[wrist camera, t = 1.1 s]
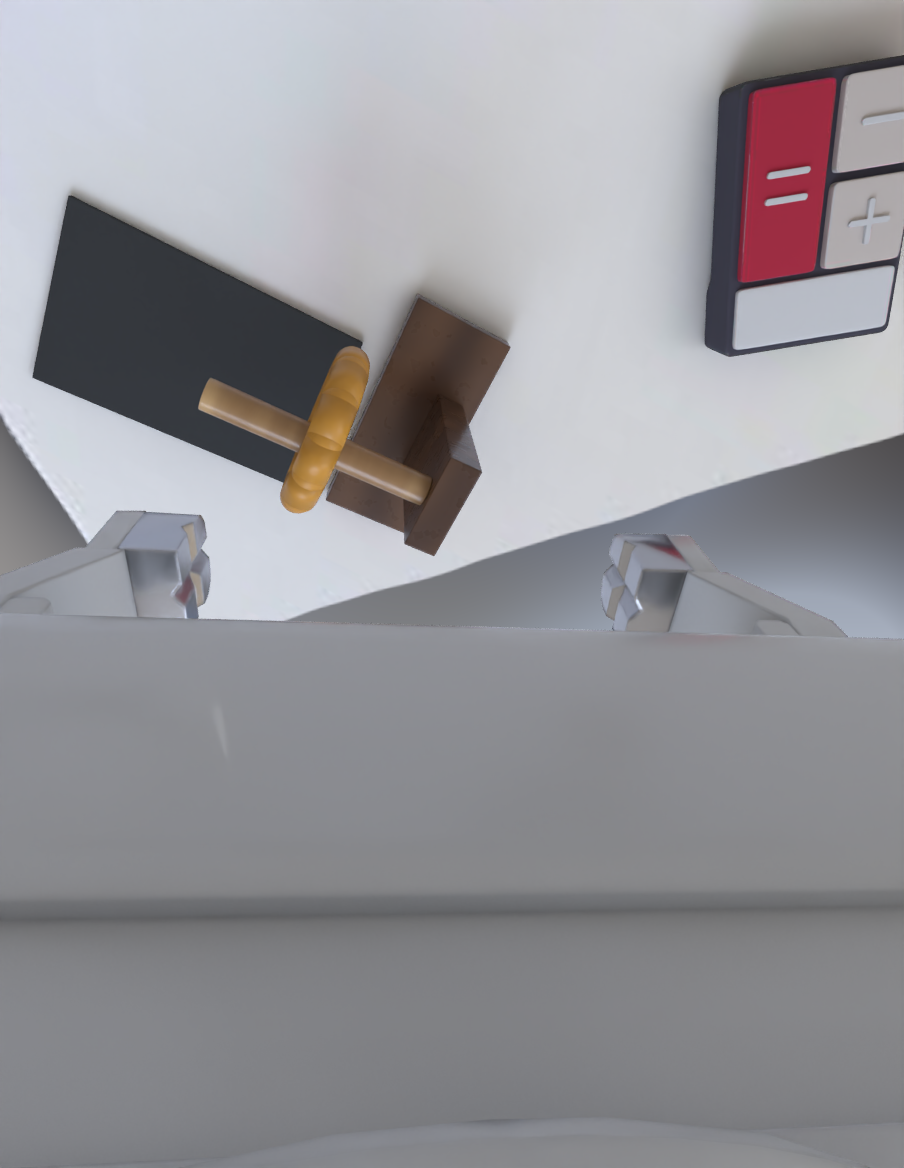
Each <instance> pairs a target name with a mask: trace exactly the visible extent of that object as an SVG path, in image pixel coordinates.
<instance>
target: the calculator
mask: <svg viewBox="0 0 904 1168" xmlns="http://www.w3.org/2000/svg"><path fill="white" fill-rule="evenodd" d="M903 236H904V55H902V56H896V57H890V58H884V59H878V60H872V61H866V62H860V63H854V64H848V65H842V66H836V67H830V68H824V69H818V70H812V71H806V72H800V73H794V74H788V75H783V76H777V77H771V78H765V79H759V80H753V81H748V82H745V83H742V84H739V85H736V86H734V87H731V88H729V89H726V90H725V91H723V92H722V94H721V96H720V99H719V117H718V139H717V161H716V183H715V204H714V226H713V248H712V270H711V281H710V284H709V288H708V291H707V302H706V324H705V345H706V346H707V347H708V348H710V349H712V350H714V351H717V352H719V353H721V354H723V355H726V356H729V357H732V356H738V355H745V354H751V353H757V352H763V351H769V350H775V349H782V348H788V347H794V346H800V345H806V344H812V343H819V342H825V341H831V340H837V339H843V338H849V337H856V336H862V335H868V334H874V333H880V332H882V331H884V330H885V329H886V328H887V326H888V322H889V317H890V311H891V305H892V300H893V294H894V288H895V282H896V276H897V270H898V265H899V259H900V253H901V247H902V241H903Z"/></svg>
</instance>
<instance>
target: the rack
mask: <svg viewBox="0 0 904 1168" xmlns="http://www.w3.org/2000/svg"><path fill="white" fill-rule="evenodd" d="M509 349H510V346H509V344H508V343H507V342H506V341H504V340H502V339H500V338H499V337H497V336H495V335H493V334H491V333H489V332H487V331H486V330H484V329H482V328H480V327H478V326H476V325H475V324H473V323H471V322H469V321H467V320H465V319H463V318H462V317H460V316H458V315H456V314H454V313H452V312H451V311H449V310H447V309H445V308H443V307H441V306H439V305H438V304H436V303H434V302H432V301H430V300H428V299H427V298H425V297H423V296H421V295H419V294H418V295H417V296H416V299H415V301H414V303H413V305H412V307H411V310H410V312H409V314H408V316H407V318H406V321H405V323H404V325H403V327H402V329H401V332H400V334H399V336H398V338H397V340H396V343H395V345H394V347H393V349H392V351H391V354H390V356H389V358H388V360H387V362H386V365H385V367H384V369H383V371H382V373H381V376H380V378H379V380H378V382H377V384H376V387H375V389H374V391H373V393H372V395H371V398H370V400H369V402H368V404H367V406H366V409H365V411H364V413H363V415H362V417H361V420H360V422H359V424H358V426H357V428H356V430H355V433H354V435H353V437H352V439H351V441H350V440H348V439H346V442H345V444H344V447H343V449H342V451H341V453H340V456H339V458H338V460H337V462H336V465H335V467H334V469H337V472H336V474H335V477H334V479H333V481H332V483H331V485H330V488H329V490H328V492H327V497H326V500H327V501H329V502H331V503H334V504H336V505H338V506H341V507H343V508H345V509H348V510H350V511H353V512H355V513H357V514H360V515H362V516H365V517H367V518H369V519H372V520H374V521H377V522H379V523H381V524H384V525H386V526H389V527H391V528H393V529H396V530H398V531H400V532H403V533H404V544H406V545H408V546H411V547H413V548H415V549H418V550H420V551H423V552H425V553H428V554H430V555H432V556H434V555H435V554H436V552H437V550H438V549H439V547H440V545H441V543H442V542H443V540H444V538H445V536H446V535H447V533H448V531H449V529H450V528H451V526H452V524H453V522H454V521H455V519H456V517H457V515H458V514H459V512H460V510H461V508H462V507H463V505H464V503H465V501H466V500H467V498H468V496H469V494H470V493H471V491H472V489H473V487H474V486H475V484H476V482H477V480H478V479H479V477H480V475H481V473H482V470H481V467H480V463H479V460H478V456H477V453H476V449H475V446H474V442H473V439H472V435H471V432H470V429H469V424H470V422H471V420H472V418H473V416H474V414H475V412H476V411H477V409H478V407H479V405H480V403H481V401H482V399H483V398H484V396H485V394H486V392H487V390H488V388H489V386H490V385H491V383H492V381H493V379H494V377H495V375H496V373H497V372H498V370H499V368H500V366H501V364H502V362H503V361H504V359H505V357H506V355H507V353H508V351H509ZM198 409H199V410H201V411H203V412H206V413H208V414H210V415H212V416H215V417H217V418H219V419H222V420H224V421H226V422H229V423H231V424H233V425H235V426H238V427H240V428H242V429H245V430H247V431H249V432H252V433H254V434H256V435H258V436H261V437H263V438H265V439H268V440H270V441H272V442H275V443H277V444H279V445H281V446H284V447H286V448H288V449H291V450H293V451H295V452H297V453H298V452H299V450H300V448H301V445H302V443H303V440H304V438H305V436H306V433H307V431H308V428H309V426H310V423H311V422H308V421H306V420H304V419H302V418H300V417H297V416H295V415H293V414H291V413H289V412H286V411H284V410H282V409H280V408H278V407H275V406H273V405H271V404H269V403H266V402H264V401H262V400H260V399H258V398H255V397H253V396H251V395H249V394H247V393H244V392H242V391H240V390H238V389H236V388H233V387H231V386H229V385H227V384H224V383H222V382H220V381H218V380H216V379H213V378H210V379H209V380H208V382H207V384H206V386H205V388H204V390H203V393H202V395H201V398H200V402H199V406H198Z"/></svg>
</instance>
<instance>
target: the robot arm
mask: <svg viewBox="0 0 904 1168" xmlns="http://www.w3.org/2000/svg"><path fill="white" fill-rule="evenodd" d="M206 538H207V536H206V529H205V523H204V520H203V518H202V516H201V515H189V514H173V513H156V512H146V511H116V512H115V513H114V514H113V515H112V517H111V518H110V519H109V520H108V521H107V523H106V524H105V525H104V526H103V527H102V528H101V530H100V531H99V532H98V533H97V534H96V535H95V537H94V538H93V539H92V540H91V541H90V542H89V544H88V545H87V546H86V547H85V548H74V549H71V550H68V551H65V552H63V553H60V554H57V555H55V556H52V557H49V558H47V559H44V560H41V561H38V562H35V563H33V564H30V565H27V566H24V567H22V568H19V569H16V570H14V571H11V572H8V573H5V574H2V575H0V1168H904V639H889V638H856V637H848V636H847V635H846V634H845V633H844V632H843V631H842V630H841V629H840V628H839V627H838V626H837V625H836V624H835V623H834V622H833V621H832V620H829V619H827V618H825V617H823V616H821V615H818V614H816V613H814V612H812V611H810V610H808V609H805V608H803V607H801V606H799V605H797V604H794V603H792V602H790V601H788V600H786V599H784V598H781V597H779V596H777V595H775V594H773V593H771V592H768V591H766V590H764V589H762V588H760V587H757V586H755V585H753V584H751V583H749V582H747V581H744V580H742V579H740V578H738V577H736V576H734V575H731V574H729V573H724V572H719V570H718V569H717V568H716V567H715V565H714V564H713V563H712V562H711V561H710V559H709V558H708V557H707V556H706V555H705V553H704V552H703V551H702V550H701V548H700V547H699V546H698V545H697V544H696V543H695V541H694V540H693V539H692V537H691V536H687V535H666V534H625V533H621V534H616V535H615V536H614V538H613V540H612V542H611V546H610V550H609V555H610V557H611V559H612V561H613V563H614V564H612V565H611V566H610V567H609V568H608V569H607V570H606V571H605V572H604V576H603V581H602V586H601V601H602V607H603V610H604V612H605V614H606V616H607V617H609V618H611V619H612V620H614V623H613V628H612V629H613V631H610V630H575V629H541V628H539V629H538V628H505V627H471V626H470V627H469V626H435V625H434V626H433V625H401V624H366V623H365V624H364V623H331V622H297V621H262V620H227V619H198V617H199V615H198V607H199V606H201V605H203V604H204V603H205V601H206V599H207V597H208V593H209V587H210V581H211V574H210V560H209V557H208V556H207V555H206V554H205V552H204V551H203V550H202V549H201V547H202V545H203V543H204V542H205V540H206Z"/></svg>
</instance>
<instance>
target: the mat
mask: <svg viewBox="0 0 904 1168" xmlns="http://www.w3.org/2000/svg"><path fill="white" fill-rule="evenodd" d="M362 344H363V342H361V341H359V340H357V339H355V338H353V337H351V336H349V335H347V334H345V333H343V332H341V331H339V330H337V329H335V328H333V327H331V326H329V325H327V324H325V323H323V322H321V321H319V320H317V319H315V318H313V317H311V316H309V315H307V314H305V313H304V312H302V311H300V310H298V309H296V308H294V307H292V306H290V305H288V304H286V303H284V302H282V301H280V300H278V299H276V298H274V297H272V296H270V295H268V294H266V293H264V292H262V291H260V290H258V289H256V288H254V287H252V286H250V285H248V284H246V283H244V282H242V281H240V280H238V279H236V278H234V277H232V276H230V275H228V274H226V273H224V272H222V271H220V270H218V269H216V268H214V267H212V266H210V265H208V264H206V263H204V262H202V261H200V260H198V259H196V258H194V257H192V256H190V255H188V254H186V253H184V252H182V251H180V250H178V249H176V248H174V247H172V246H170V245H168V244H166V243H164V242H162V241H160V240H158V239H156V238H154V237H153V236H151V235H149V234H147V233H145V232H143V231H141V230H139V229H137V228H135V227H133V226H131V225H129V224H127V223H125V222H123V221H121V220H119V219H117V218H115V217H113V216H111V215H109V214H107V213H105V212H103V211H101V210H99V209H97V208H95V207H93V206H91V205H89V204H87V203H85V202H83V201H81V200H79V199H77V198H75V197H73V196H68V201H67V206H66V211H65V216H64V221H63V226H62V231H61V236H60V241H59V246H58V251H57V256H56V261H55V266H54V271H53V276H52V281H51V286H50V291H49V296H48V302H47V307H46V312H45V317H44V322H43V327H42V332H41V337H40V342H39V347H38V352H37V357H36V362H35V367H34V372H33V378H35V379H37V380H39V381H42V382H44V383H47V384H49V385H51V386H54V387H56V388H59V389H61V390H63V391H66V392H68V393H71V394H73V395H75V396H78V397H80V398H83V399H85V400H87V401H90V402H92V403H94V404H97V405H99V406H102V407H104V408H106V409H109V410H111V411H114V412H116V413H118V414H121V415H123V416H126V417H128V418H130V419H133V420H135V421H138V422H140V423H142V424H145V425H147V426H149V427H152V428H154V429H157V430H159V431H161V432H164V433H166V434H169V435H171V436H173V437H176V438H178V439H181V440H183V441H185V442H188V443H190V444H193V445H195V446H197V447H200V448H202V449H204V450H207V451H209V452H212V453H214V454H216V455H219V456H221V457H224V458H226V459H228V460H231V461H233V462H236V463H238V464H240V465H243V466H245V467H248V468H250V469H252V470H255V471H257V472H259V473H262V474H264V475H267V476H269V477H271V478H274V479H276V480H279V481H281V482H283V483H284V481H285V478H286V475H287V472H288V470H289V467H290V465H291V462H292V459H293V457H294V454H295V451H293V450H291V449H288V448H286V447H284V446H281V445H279V444H277V443H275V442H272V441H270V440H268V439H265V438H263V437H261V436H258V435H256V434H254V433H252V432H249V431H247V430H245V429H242V428H240V427H238V426H235V425H233V424H231V423H229V422H226V421H224V420H222V419H219V418H217V417H215V416H212V415H210V414H208V413H206V412H203V411H201V410H199V409H198V406H199V402H200V398H201V395H202V393H203V390H204V388H205V386H206V384H207V382H208V380H209V379H210V378H213V379H216V380H218V381H220V382H222V383H224V384H227V385H229V386H231V387H233V388H236V389H238V390H240V391H242V392H244V393H247V394H249V395H251V396H253V397H255V398H258V399H260V400H262V401H264V402H266V403H269V404H271V405H273V406H275V407H278V408H280V409H282V410H284V411H286V412H289V413H291V414H293V415H295V416H297V417H300V418H302V419H304V420H306V421H308V419H309V417H310V414H311V412H312V409H313V407H314V405H315V402H316V400H317V397H318V395H319V393H320V390H321V388H322V386H323V383H324V381H325V379H326V376H327V374H328V372H329V369H330V367H331V365H332V363H333V361H334V359H335V357H336V355H337V353H338V352H339V351H340V350H341V349H343V348H345V347H348V346H354V347H358V348H360V349H361V346H362Z"/></svg>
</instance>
